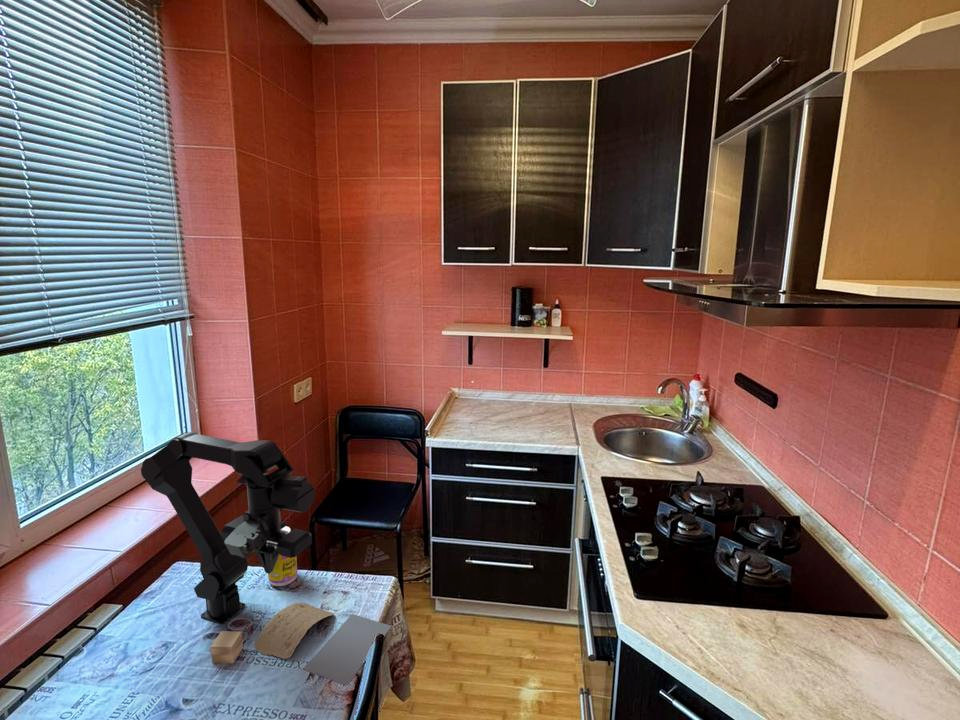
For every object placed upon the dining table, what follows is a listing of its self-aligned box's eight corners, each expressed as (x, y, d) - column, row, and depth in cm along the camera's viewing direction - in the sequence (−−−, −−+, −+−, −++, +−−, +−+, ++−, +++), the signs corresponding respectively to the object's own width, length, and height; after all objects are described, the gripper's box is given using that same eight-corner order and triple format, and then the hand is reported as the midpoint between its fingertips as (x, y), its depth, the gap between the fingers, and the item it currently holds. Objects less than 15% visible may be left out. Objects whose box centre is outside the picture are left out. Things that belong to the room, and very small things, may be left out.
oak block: (212, 664, 94) (210, 646, 94) (223, 648, 98) (221, 631, 97) (233, 665, 94) (231, 647, 94) (243, 648, 98) (241, 631, 97)
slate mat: (302, 670, 93) (302, 669, 93) (352, 615, 108) (352, 613, 108) (347, 686, 90) (346, 685, 90) (391, 627, 104) (391, 625, 104)
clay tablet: (289, 662, 95) (288, 650, 94) (250, 647, 98) (249, 635, 98) (337, 614, 108) (336, 603, 107) (301, 602, 111) (300, 592, 111)
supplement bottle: (283, 590, 115) (279, 541, 113) (262, 583, 118) (258, 534, 116) (303, 574, 122) (300, 527, 119) (283, 567, 124) (280, 521, 122)
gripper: (194, 513, 95) (202, 584, 98) (271, 532, 89) (276, 608, 92) (240, 489, 105) (246, 554, 108) (311, 505, 99) (315, 573, 102)
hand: (269, 572), depth 102 cm, fingers closed
